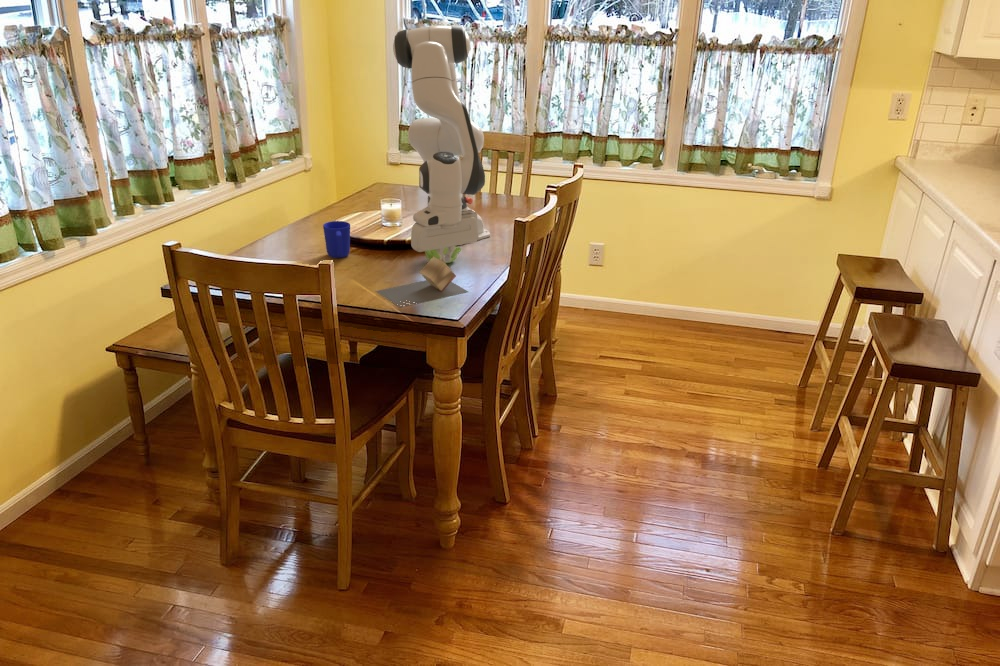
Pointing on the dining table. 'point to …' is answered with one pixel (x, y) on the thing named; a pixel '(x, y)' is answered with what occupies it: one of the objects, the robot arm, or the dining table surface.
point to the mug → (337, 238)
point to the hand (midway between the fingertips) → (445, 261)
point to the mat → (418, 293)
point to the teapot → (435, 254)
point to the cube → (437, 274)
